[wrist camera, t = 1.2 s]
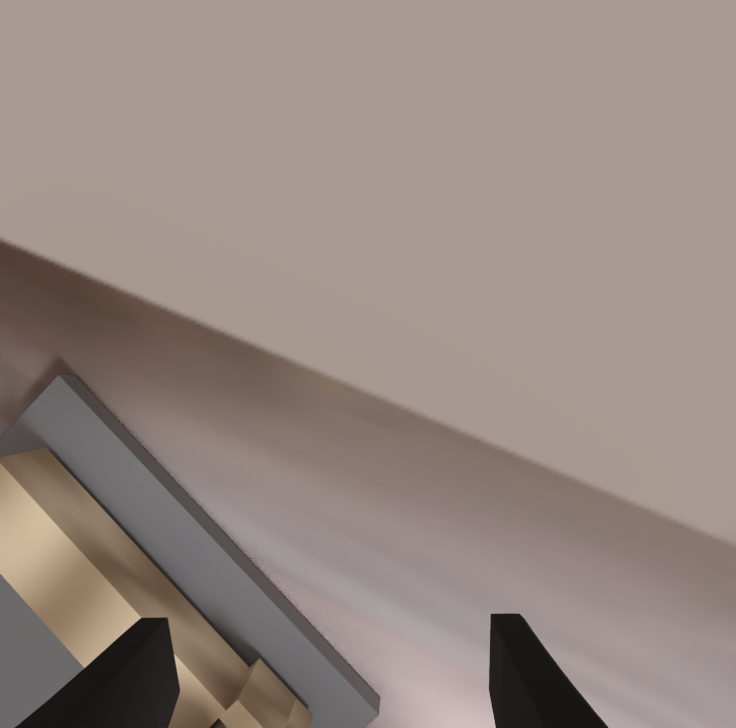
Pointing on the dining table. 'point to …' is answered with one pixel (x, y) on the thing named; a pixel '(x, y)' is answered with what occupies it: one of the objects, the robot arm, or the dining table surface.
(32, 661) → the board
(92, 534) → the link
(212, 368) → the dining table surface
